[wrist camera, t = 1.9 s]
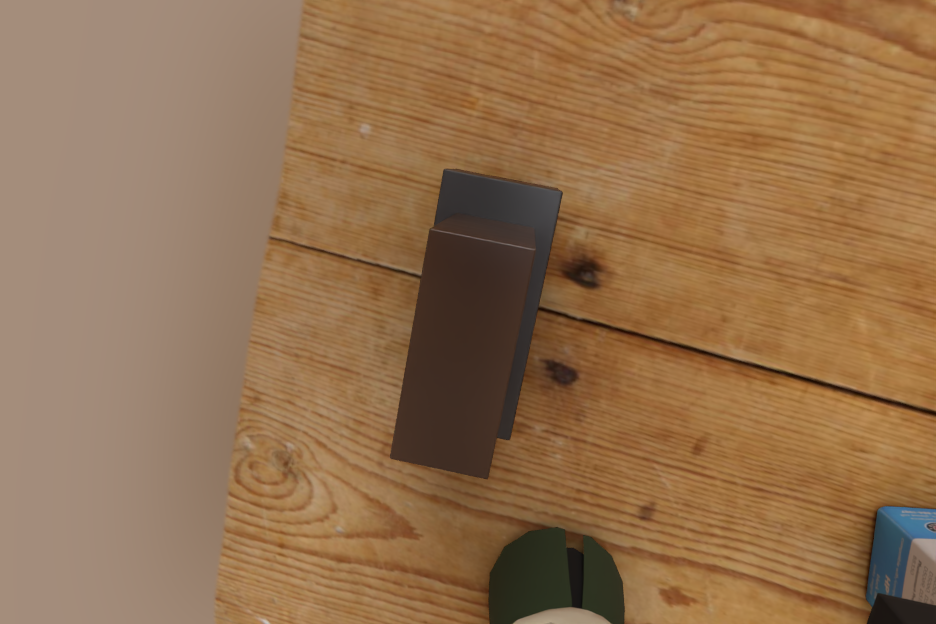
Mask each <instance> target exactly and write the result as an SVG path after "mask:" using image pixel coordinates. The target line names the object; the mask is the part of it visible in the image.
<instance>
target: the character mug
mask: <svg viewBox="0 0 936 624" xmlns="http://www.w3.org/2000/svg"><path fill="white" fill-rule="evenodd" d="M583 542H584V554H583V553H581V552H579V551H578V550H576V549H575V548H566V537H565V530H564V529H561V528H558V527H555V528H549V529H542V530H535V531H529V532H527V533H526V534H524V535H523V536H521V537H519V538H518V539H516V540H515V541H513V542H512V543H510V544H508V545H507V546H505V547H504V549H503V551H502V552H501V554H500V556H499V558H498V560H497V561H496V563H495V565H494V567H493V569H492V570H491V572H490V581H489V618H490V624H624V612H625V608H624V595H623V582H622V579H621V577H620V575H619V572H618V570H617V568H616V565H615V563H614V561H613V558H612V556H611V555H610V554H609V553H608V552H607V551H606V550H605V549H604V548H602V547H601V546H600V545H599V544H598V543H597V542H596V541H595V540H594V539H592V538H591V537H589V536H585V535H583Z"/></svg>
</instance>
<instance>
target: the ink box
mask: <svg viewBox="0 0 936 624" xmlns="http://www.w3.org/2000/svg"><path fill="white" fill-rule="evenodd" d="M877 593H881V594H886V595H891V596H895V597H900V598H904V599H909V600H913V601H918V602H922V603H927V604H931V605H936V509H924V508H909V507H891V506H885V507H881V508H879V509H878V511H877V519H876V526H875V533H874V541H873V548H872V555H871V563H870V570H869V578H868V586H867V593H866V599H867V601H868V602H869V603H870V605H871V606H872V607H873V605H874V602H875V599H876V596H877Z"/></svg>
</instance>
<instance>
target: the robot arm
mask: <svg viewBox="0 0 936 624" xmlns="http://www.w3.org/2000/svg"><path fill="white" fill-rule="evenodd" d="M867 624H936V605H931V604H927V603H922V602H918V601H913V600H909V599H904V598H900V597H895V596H891V595H886V594H881V593H877V596H876V599H875V602H874V605H873V607H872V610H871V613H870V616H869V618H868V621H867Z"/></svg>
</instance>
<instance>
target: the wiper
mask: <svg viewBox="0 0 936 624" xmlns="http://www.w3.org/2000/svg"><path fill="white" fill-rule="evenodd" d="M562 194H563V192H562V191H560V190H559V189H558V188H553V187H548V186H543V185H537V184H532V183H527V182H522V181H517V180H511V179H506V178H501V177H496V176H490V175H485V174H480V173H475V172H470V171H464V170H459V169H444V171H443V176H442V182H441V188H440V194H439V199H438V205H437V211H436V216H435V222H434V227H432V228H430V230H429V235H428V241H427V247H426V253H425V258H424V264H423V270H422V276H421V281H420V287H419V293H418V299H417V304H416V310H415V316H414V322H413V327H412V333H411V339H410V345H409V350H408V356H407V362H406V368H405V373H404V379H403V385H402V391H401V396H400V402H399V408H398V414H397V419H396V425H395V431H394V437H393V442H392V448H391V454H390V458H391V459H395V460H399V461H404V462H409V463H413V464H418V465H423V466H427V467H432V468H437V469H442V470H446V471H451V472H456V473H460V474H465V475H470V476H474V477H479V478H484V479H488V477H489V472H490V468H491V463H492V458H493V453H494V448H495V444H496V439H497V438H500V439H505V440H510V438H511V433H512V428H513V423H514V419H515V414H516V409H517V405H518V400H519V395H520V391H521V386H522V381H523V377H524V372H525V367H526V363H527V358H528V353H529V349H530V344H531V339H532V335H533V330H534V325H535V320H536V316H537V311H538V306H539V302H540V297H541V292H542V288H543V283H544V278H545V274H546V269H547V264H548V260H549V255H550V250H551V246H552V241H553V236H554V231H555V227H556V222H557V217H558V213H559V208H560V203H561V199H562Z"/></svg>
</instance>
